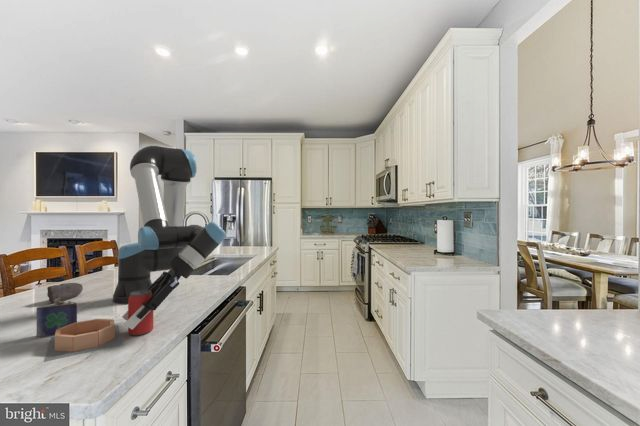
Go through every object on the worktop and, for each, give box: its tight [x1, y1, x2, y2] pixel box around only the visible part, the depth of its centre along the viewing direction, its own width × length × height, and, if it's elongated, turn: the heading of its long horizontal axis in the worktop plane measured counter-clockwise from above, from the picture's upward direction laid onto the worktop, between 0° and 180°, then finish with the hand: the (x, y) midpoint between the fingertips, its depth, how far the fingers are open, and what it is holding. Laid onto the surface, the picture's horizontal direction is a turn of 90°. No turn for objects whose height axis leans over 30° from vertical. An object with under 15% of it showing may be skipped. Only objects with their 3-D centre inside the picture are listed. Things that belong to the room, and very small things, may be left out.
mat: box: [43, 324, 124, 363], centre depth 85 cm, size 18×16×1 cm
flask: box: [35, 298, 78, 338], centre depth 90 cm, size 9×3×11 cm, turn 121°
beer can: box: [127, 290, 154, 336], centre depth 91 cm, size 7×7×12 cm
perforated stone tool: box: [46, 282, 84, 303], centre depth 126 cm, size 15×5×7 cm, turn 170°
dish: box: [54, 318, 116, 352], centre depth 85 cm, size 13×13×4 cm
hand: (127, 322), depth 89 cm, fingers closed on beer can, 6 cm apart
